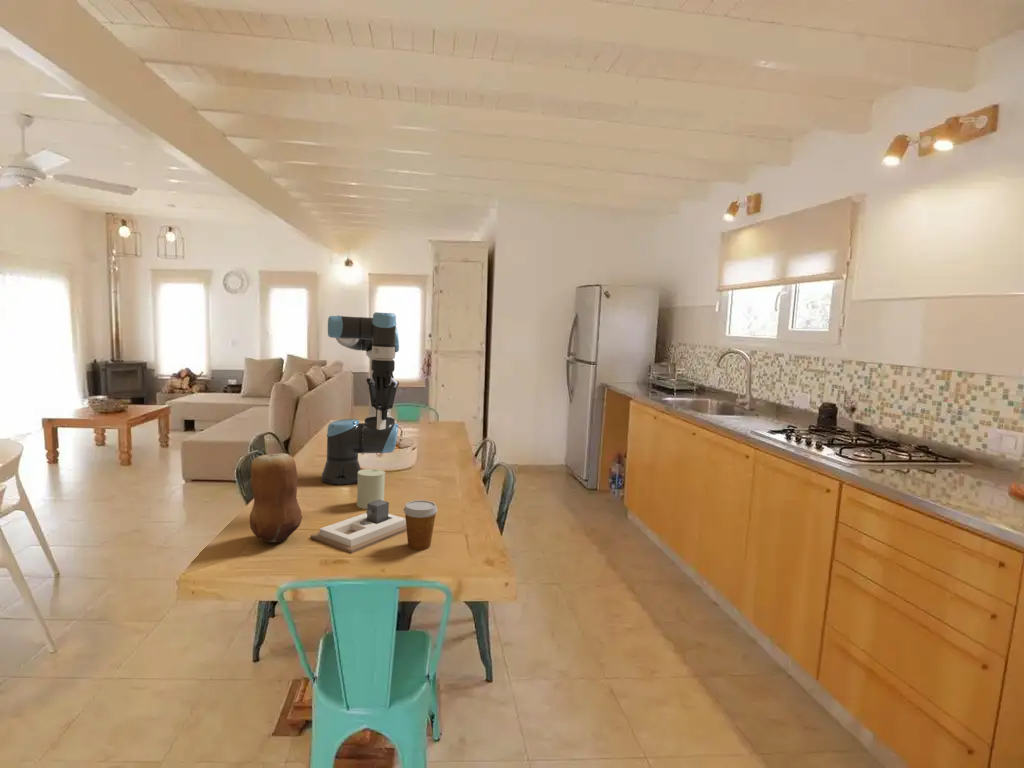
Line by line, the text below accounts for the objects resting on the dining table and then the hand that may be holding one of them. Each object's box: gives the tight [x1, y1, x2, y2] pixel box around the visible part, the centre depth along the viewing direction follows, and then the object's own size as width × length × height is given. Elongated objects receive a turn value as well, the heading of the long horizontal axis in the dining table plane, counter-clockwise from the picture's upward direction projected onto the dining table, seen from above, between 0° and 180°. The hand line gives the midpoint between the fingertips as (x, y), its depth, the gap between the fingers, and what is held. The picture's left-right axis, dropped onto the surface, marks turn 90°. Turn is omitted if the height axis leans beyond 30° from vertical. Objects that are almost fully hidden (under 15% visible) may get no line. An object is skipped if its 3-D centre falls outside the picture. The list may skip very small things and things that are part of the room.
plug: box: [365, 500, 390, 524], centre depth 175 cm, size 4×7×7 cm, turn 149°
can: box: [356, 468, 386, 510], centre depth 196 cm, size 9×9×12 cm
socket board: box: [310, 512, 407, 554], centre depth 172 cm, size 17×25×3 cm
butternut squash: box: [249, 452, 303, 543], centre depth 161 cm, size 14×13×25 cm
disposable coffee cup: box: [403, 499, 438, 551], centre depth 164 cm, size 10×10×12 cm
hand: (381, 428), depth 195 cm, fingers closed
